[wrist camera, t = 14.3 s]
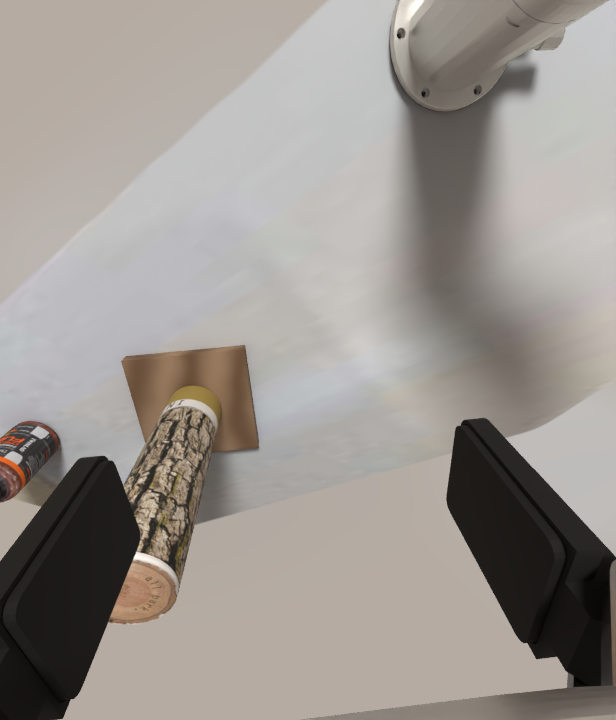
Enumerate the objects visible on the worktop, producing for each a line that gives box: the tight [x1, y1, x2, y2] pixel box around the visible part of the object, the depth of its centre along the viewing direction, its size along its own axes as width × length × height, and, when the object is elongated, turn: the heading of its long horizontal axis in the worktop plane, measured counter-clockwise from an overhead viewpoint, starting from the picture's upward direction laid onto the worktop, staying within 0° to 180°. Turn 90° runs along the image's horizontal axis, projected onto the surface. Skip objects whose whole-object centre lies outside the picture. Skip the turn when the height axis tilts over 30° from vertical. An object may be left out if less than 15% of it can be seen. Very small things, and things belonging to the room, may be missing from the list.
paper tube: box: [108, 386, 221, 625], centre depth 36 cm, size 7×7×25 cm
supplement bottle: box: [0, 421, 59, 502], centre depth 43 cm, size 6×6×11 cm
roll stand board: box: [121, 345, 259, 453], centre depth 48 cm, size 15×15×2 cm
